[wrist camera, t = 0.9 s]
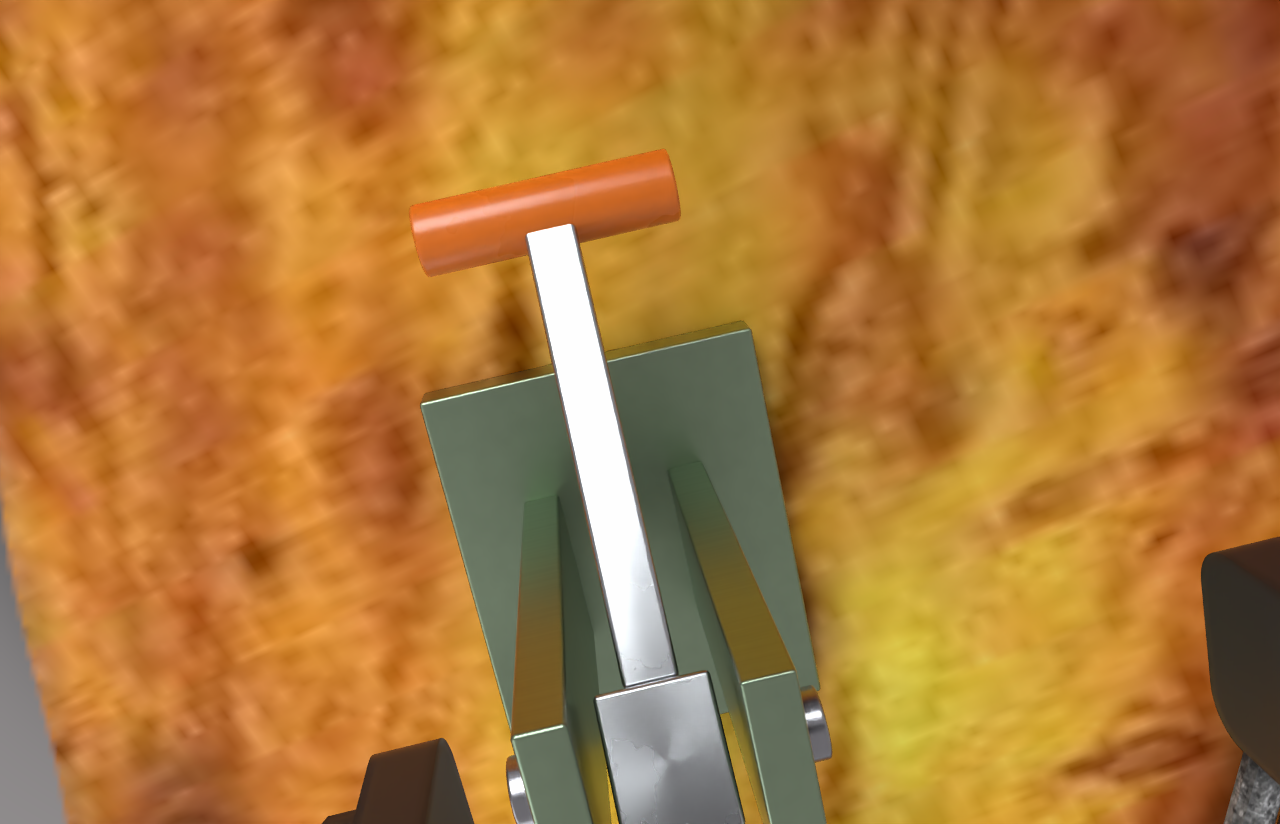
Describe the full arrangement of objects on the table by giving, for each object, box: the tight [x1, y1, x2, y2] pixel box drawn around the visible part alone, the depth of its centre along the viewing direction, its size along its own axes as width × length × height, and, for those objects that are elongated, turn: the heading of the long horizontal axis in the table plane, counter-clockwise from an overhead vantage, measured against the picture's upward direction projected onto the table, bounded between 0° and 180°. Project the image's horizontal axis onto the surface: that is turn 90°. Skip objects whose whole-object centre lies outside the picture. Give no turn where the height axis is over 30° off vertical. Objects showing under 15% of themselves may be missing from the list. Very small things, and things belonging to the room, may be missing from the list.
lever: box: [409, 149, 745, 824], centre depth 23 cm, size 14×6×2 cm
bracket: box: [420, 321, 832, 824], centre depth 26 cm, size 11×9×13 cm
